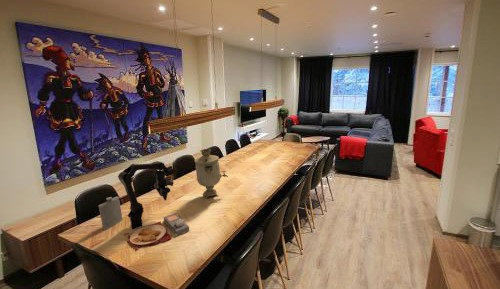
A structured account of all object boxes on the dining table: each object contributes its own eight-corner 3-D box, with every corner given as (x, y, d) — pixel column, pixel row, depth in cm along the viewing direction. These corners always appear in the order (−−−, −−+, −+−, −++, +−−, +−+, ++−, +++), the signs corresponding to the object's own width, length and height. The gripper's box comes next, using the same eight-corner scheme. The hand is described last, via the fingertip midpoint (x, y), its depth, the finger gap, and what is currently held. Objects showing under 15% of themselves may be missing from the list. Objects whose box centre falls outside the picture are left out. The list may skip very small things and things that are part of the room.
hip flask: (120, 218, 194) (115, 192, 189) (124, 218, 193) (120, 193, 188) (102, 229, 179) (96, 202, 175) (106, 230, 178) (101, 203, 174)
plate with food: (160, 223, 185) (160, 219, 184) (172, 239, 164) (171, 234, 163) (124, 236, 172) (123, 231, 172) (131, 254, 151) (130, 249, 151)
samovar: (227, 202, 211) (223, 154, 202) (194, 203, 212) (189, 155, 203) (230, 187, 240) (227, 145, 231) (201, 188, 241) (197, 146, 232)
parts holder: (176, 235, 168) (176, 230, 167) (164, 220, 187) (163, 216, 186) (189, 230, 173) (188, 226, 172) (175, 216, 192) (175, 212, 191)
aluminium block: (177, 231, 172) (176, 223, 171) (175, 229, 176) (174, 220, 174) (184, 229, 175) (183, 221, 173) (181, 226, 178) (180, 218, 177)
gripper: (176, 179, 190) (178, 199, 193) (167, 172, 204) (169, 191, 208) (160, 182, 183) (163, 203, 187) (152, 176, 198) (155, 195, 202)
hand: (163, 198), depth 196 cm, fingers open, 9 cm apart
